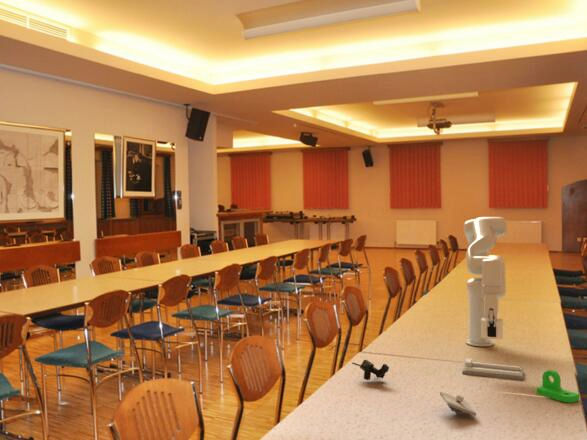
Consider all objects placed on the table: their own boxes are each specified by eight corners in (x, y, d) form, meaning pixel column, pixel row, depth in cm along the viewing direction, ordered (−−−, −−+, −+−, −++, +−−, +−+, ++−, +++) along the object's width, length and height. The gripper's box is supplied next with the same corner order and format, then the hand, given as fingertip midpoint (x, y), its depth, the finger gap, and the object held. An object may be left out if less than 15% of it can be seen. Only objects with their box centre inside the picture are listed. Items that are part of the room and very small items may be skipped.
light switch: (466, 404, 175) (466, 389, 174) (477, 417, 165) (477, 401, 165) (438, 405, 175) (438, 389, 174) (447, 417, 165) (448, 401, 165)
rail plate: (464, 366, 217) (464, 356, 217) (522, 372, 208) (522, 362, 208) (462, 373, 208) (462, 363, 207) (522, 380, 199) (522, 369, 199)
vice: (390, 390, 203) (371, 374, 212) (401, 371, 203) (381, 355, 211) (362, 385, 192) (343, 368, 200) (374, 364, 191) (354, 348, 200)
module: (482, 334, 211) (481, 317, 211) (503, 336, 208) (503, 319, 208) (481, 337, 207) (480, 320, 206) (502, 339, 203) (502, 321, 203)
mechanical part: (536, 393, 185) (536, 371, 185) (545, 390, 188) (545, 368, 188) (570, 403, 175) (569, 380, 175) (579, 399, 178) (579, 376, 178)
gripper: (483, 286, 216) (483, 329, 217) (480, 292, 201) (480, 339, 201) (502, 287, 213) (503, 331, 214) (501, 293, 198) (501, 340, 198)
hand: (492, 334), depth 207 cm, fingers closed on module, 5 cm apart
